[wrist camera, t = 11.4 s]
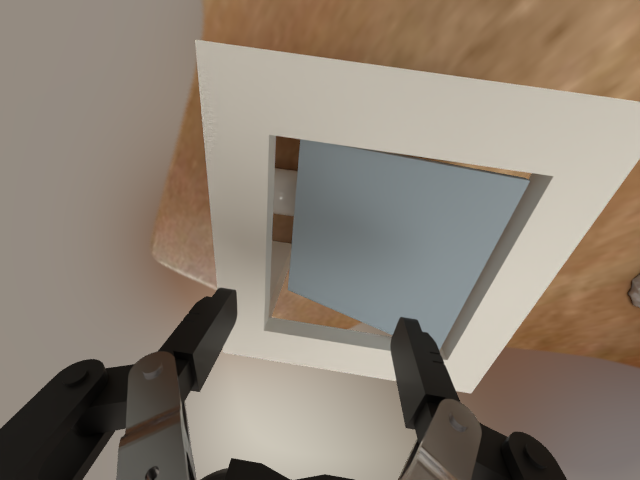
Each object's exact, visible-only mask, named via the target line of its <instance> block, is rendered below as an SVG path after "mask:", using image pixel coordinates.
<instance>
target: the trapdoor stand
mask: <svg viewBox="0 0 640 480" xmlns="http://www.w3.org/2000/svg"><path fill="white" fill-rule="evenodd" d="M195 46H196V57H197V68H198V79H199V90H200V101H201V112H202V123H203V134H204V145H205V156H206V167H207V178H208V189H209V200H210V211H211V222H212V234H213V245H214V256H215V267H216V278H217V289H218V288H220V287H221V288H227V289H234V290H236V292H237V319H236V323H235V325H234V327H233V329H232V331H231V333H230V335H229V337H228V339H227V341H226V342H225V344H224V346H223V352H224V353H229V354H234V355H241V356H247V357H253V358H259V359H265V360H271V361H277V362H284V363H289V364H295V365H302V366H308V367H314V368H320V369H326V370H332V371H338V372H344V373H350V374H356V375H362V376H369V377H375V378H381V379H387V380H393V381H396V376H395V371H394V366H393V361H392V356H391V350H390V344H391V338H392V337H389V336H383V335H378V334H371V333H365V332H359V331H353V330H346V329H340V328H334V327H328V326H322V325H315V324H309V323H303V322H297V321H291V320H284V319H278V318H272V314H273V311H274V308H275V305H276V303H277V300H278V297H279V294H280V292H281V289H282V286H283V283H284V280H285V278H286V275H287V272H288V269H289V267H290V258H291V246H292V244H291V243H284V242H278V241H272V226H273V201H274V175H275V149H276V136H282V137H289V138H296V139H302V140H309V141H316V142H323V143H330V144H337V145H343V146H350V147H357V148H364V149H371V150H378V151H384V152H391V153H398V154H405V155H412V156H419V157H425V158H432V159H439V160H446V161H453V162H460V163H466V164H473V165H480V166H487V167H494V168H501V169H507V170H514V171H521V172H528V173H532V174H531V176H530V178H529V180H530V182H529V184H528V186H527V188H526V190H525V192H524V194H523V196H522V197H521V199H520V201H519V203H518V205H517V207H516V209H515V210H514V212H513V214H512V216H511V218H510V220H509V222H508V223H507V225H506V227H505V229H504V231H503V233H502V235H501V237H500V238H499V240H498V242H497V244H496V246H495V248H494V250H493V251H492V253H491V255H490V257H489V259H488V261H487V263H486V265H485V266H484V268H483V270H482V272H481V274H480V276H479V278H478V279H477V281H476V283H475V285H474V287H473V289H472V291H471V292H470V294H469V296H468V298H467V300H466V302H465V304H464V306H463V307H462V309H461V311H460V313H459V315H458V317H457V319H456V320H455V322H454V324H453V326H452V328H451V330H450V332H449V333H448V335H447V337H446V339H445V341H444V343H443V345H442V347H441V348H440V350H439V351H440V355H441V356H442V358H443V361H444V365H445V366H446V368H447V371H448V373H449V376H450V378H451V381H452V383H453V385H454V388H455V390H456V391H460V392H466V393H472V391H473V390H474V389H475V387H476V386H477V384H478V383H479V382H480V380H481V379H482V377H483V376H484V375H485V373H486V372H487V371H488V369H489V368H490V366H491V365H492V364H493V362H494V361H495V359H496V358H497V357H498V355H499V354H500V352H501V351H502V349H503V348H504V347H505V345H506V344H507V343H508V341H509V340H510V338H511V337H512V336H513V334H514V333H515V331H516V330H517V329H518V327H519V326H520V325H521V323H522V322H523V320H524V319H525V318H526V316H527V315H528V313H529V312H530V311H531V309H532V308H533V306H534V305H535V304H536V302H537V301H538V299H539V298H540V297H541V295H542V294H543V292H544V291H545V290H546V288H547V287H548V285H549V284H550V283H551V281H552V280H553V279H554V277H555V276H556V274H557V273H558V272H559V270H560V269H561V267H562V266H563V265H564V263H565V262H566V260H567V259H568V258H569V256H570V255H571V253H572V252H573V251H574V249H575V248H576V246H577V245H578V244H579V242H580V241H581V239H582V238H583V237H584V235H585V234H586V233H587V231H588V230H589V228H590V227H591V226H592V224H593V223H594V221H595V220H596V219H597V217H598V216H599V214H600V213H601V212H602V210H603V209H604V207H605V206H606V205H607V203H608V202H609V200H610V199H611V198H612V196H613V195H614V193H615V192H616V191H617V189H618V188H619V187H620V185H621V184H622V182H623V181H624V180H625V178H626V177H627V175H628V174H629V173H630V171H631V170H632V168H633V167H634V166H635V164H636V163H637V161H638V160H639V159H640V102H638V101H631V100H623V99H616V98H609V97H602V96H595V95H588V94H581V93H573V92H566V91H559V90H552V89H545V88H538V87H530V86H523V85H516V84H509V83H502V82H495V81H487V80H480V79H473V78H466V77H459V76H452V75H445V74H437V73H430V72H423V71H416V70H409V69H402V68H394V67H387V66H380V65H373V64H366V63H359V62H351V61H344V60H337V59H330V58H323V57H316V56H309V55H301V54H294V53H287V52H280V51H273V50H266V49H258V48H251V47H244V46H237V45H230V44H223V43H215V42H208V41H201V40H195Z"/></svg>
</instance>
